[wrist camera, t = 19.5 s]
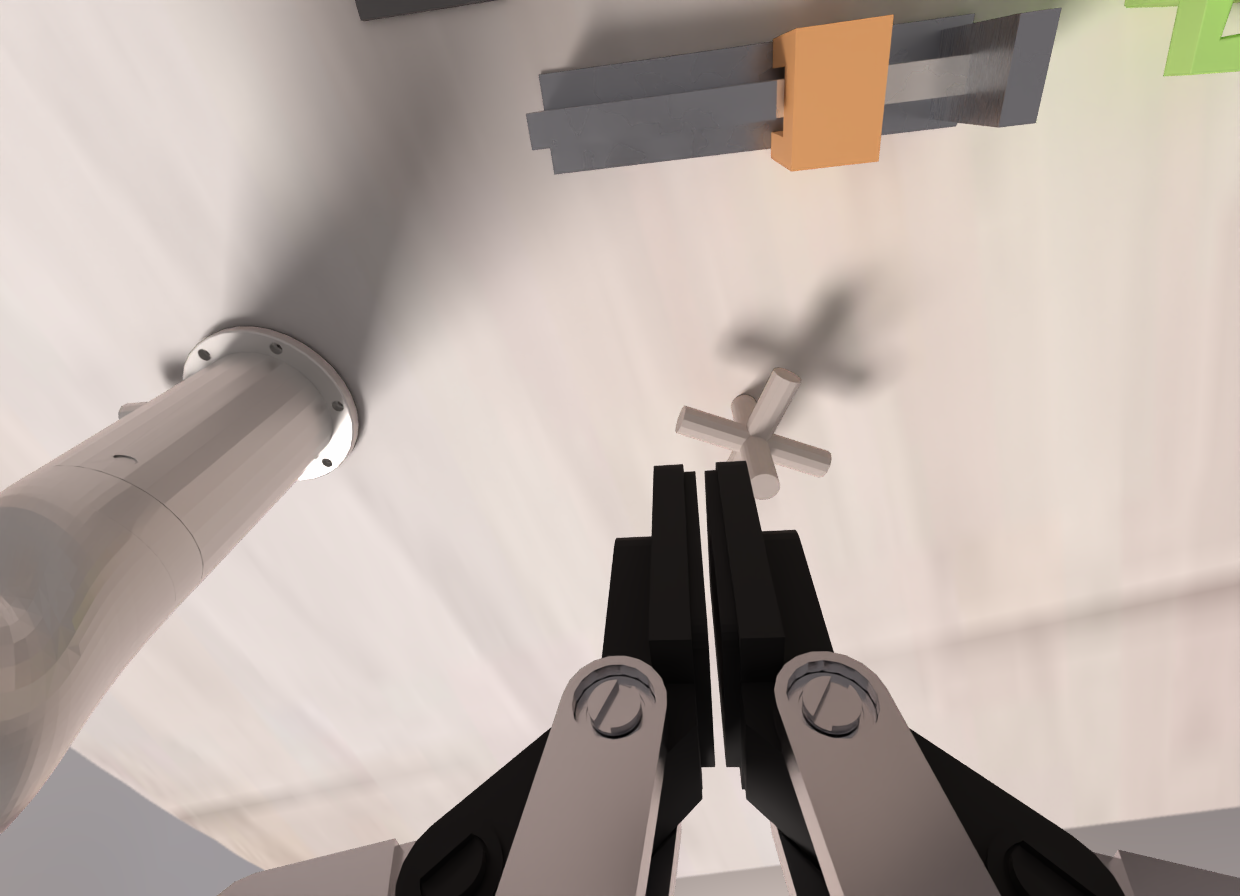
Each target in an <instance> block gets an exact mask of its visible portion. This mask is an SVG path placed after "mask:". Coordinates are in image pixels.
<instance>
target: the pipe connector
mask: <svg viewBox="0 0 1240 896" xmlns="http://www.w3.org/2000/svg"><path fill="white" fill-rule="evenodd" d="M800 383H801V379H800V378H799V376H797V375H796V374H794V373H793V372H791V371H788V370H786V369H783V368H774V370H773V372H772V374H771V376H770V378H769V380H768V382H767V384H766V386H765V388H764V390H763V391H762V393H761V395H760V397H759V399H758V401H757V403H756V401H755V399H754V398H753V397H751V396H749V395H741V396H738V397H736V398H735V399H734V400H733V402H732V404H731V410H732V415H733V420H734V421H732V420H728V419H725V418H722V417H719V416H716V415H713V414H709V413H706V412H703V411H700V410H697V409H694V408H691V407H687V406H684V407H683V408H682V410H681V412H680V415H679V417H678V420H677V424H676V433H678V434H681V435H684V436H688V437H691V438H694V439H697V440H700V441H704V442H707V443H710V444H713V445H716V446H720V447H723V448H726V449H729V450H733V451H732V453H731V455H730V457H729V459H728V461H727V462H730V461H746V462H747V466H748V471H749V475H750V480H751V485H752V489H753V494H754V498H756V499H760V500H766V499H770V498H772V497H773V496H775V495H776V494H777V493H778V491H779V489H780V483H779V480H778V476H777V473H776V469H775V466H774V464H778V465H781V466H784V467H787V468H790V469H794V470H797V471H800V472H803V473H806V474H810V475H813V476H816V477H819V478H820V477H823V476H824V475H825V474H826V473H827V471H828V469H829V467H830V463H831V453H830V452H829V451H826V450H823V449H820V448H817V447H814V446H810V445H807V444H804V443H801V442H798V441H795V440H791V439H788V438H785V437H782V436H779V435H776V434H773V433H774V432H775V430H776V428H777V426H778V424H779V422H780V420H781V419H782V417H783V415H784V413H785V411H786V409H787V407H788V406H789V404H790V402H791V400H792V398H793V396H794V394H795V393H796V391H797V389H798V387H799V385H800Z"/></svg>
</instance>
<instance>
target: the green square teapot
mask: <svg viewBox="0 0 1240 896" xmlns="http://www.w3.org/2000/svg"><path fill="white" fill-rule="evenodd" d="M1233 3H1240V0H1125V5H1124V6H1126V8H1138V7H1168V6H1178V9H1177V14H1176V19H1175V23H1174V28H1173V33H1172V38H1171V42H1170V47H1169V52H1168V57H1167V61H1166V66H1165V71H1164V75H1163V76H1180V75H1197V74H1210V73H1223V72H1236V71H1240V34H1236V35H1231V36H1225V37H1221V36H1222V33H1223V30H1224V27H1225V24H1226V21H1227V18H1228V15H1229V12H1230V9H1231V7H1232V4H1233Z"/></svg>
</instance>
